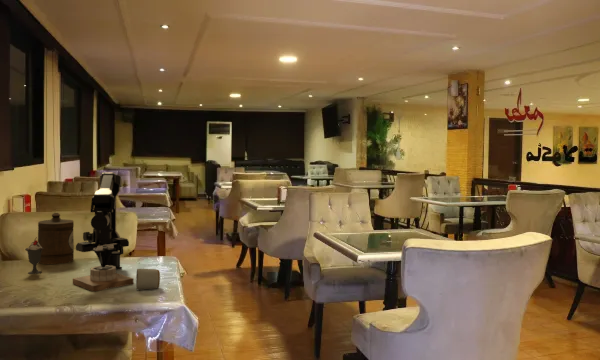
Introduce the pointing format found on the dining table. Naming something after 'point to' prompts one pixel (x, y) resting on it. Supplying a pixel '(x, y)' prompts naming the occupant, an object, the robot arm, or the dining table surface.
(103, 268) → the smooth gray stone
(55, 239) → the wooden container
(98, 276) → the brown board with ring
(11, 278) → the dining table surface
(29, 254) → the sundae
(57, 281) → the dining table surface
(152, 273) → the ceramic mug
